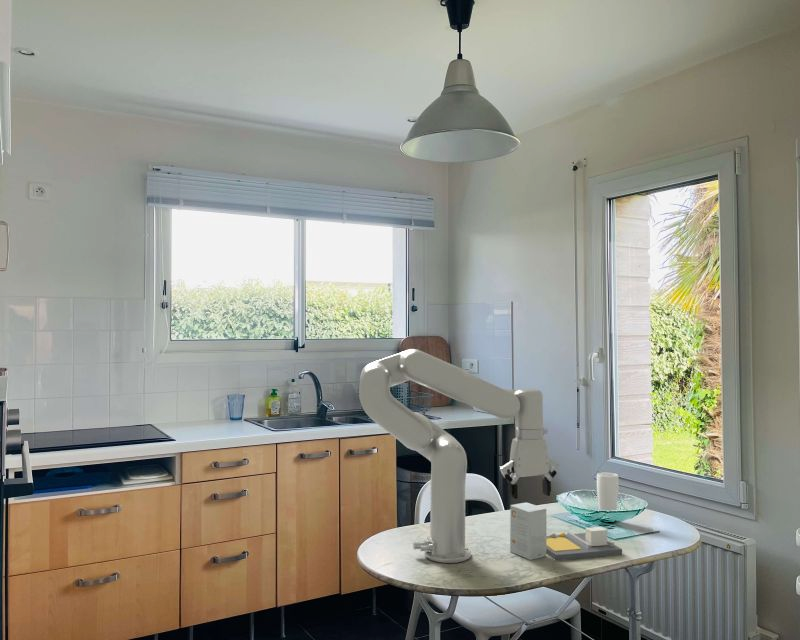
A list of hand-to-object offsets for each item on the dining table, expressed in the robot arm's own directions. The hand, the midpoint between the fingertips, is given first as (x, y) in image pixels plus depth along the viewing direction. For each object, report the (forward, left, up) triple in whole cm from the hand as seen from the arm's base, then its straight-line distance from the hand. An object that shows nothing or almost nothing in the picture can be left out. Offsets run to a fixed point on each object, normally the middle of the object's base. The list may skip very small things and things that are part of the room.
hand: (530, 496), depth 182 cm
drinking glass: (+37, +22, -16) cm, 46 cm away
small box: (-1, 0, -16) cm, 16 cm away
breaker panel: (+14, +1, -16) cm, 22 cm away
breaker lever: (+19, -1, -14) cm, 24 cm away
